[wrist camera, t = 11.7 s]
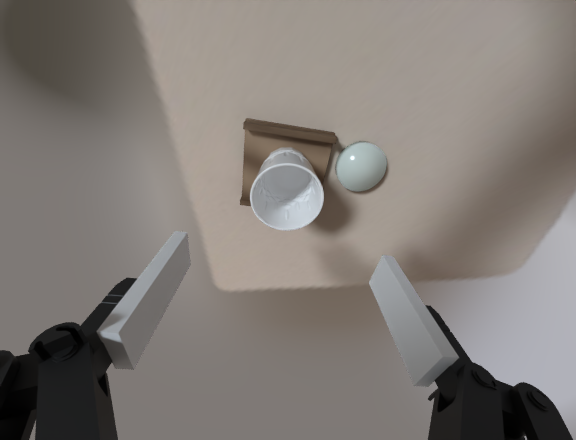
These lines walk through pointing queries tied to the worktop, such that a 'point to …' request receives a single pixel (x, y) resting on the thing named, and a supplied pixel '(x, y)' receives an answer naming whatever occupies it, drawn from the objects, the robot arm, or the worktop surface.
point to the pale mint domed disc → (360, 166)
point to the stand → (274, 136)
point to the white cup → (286, 191)
